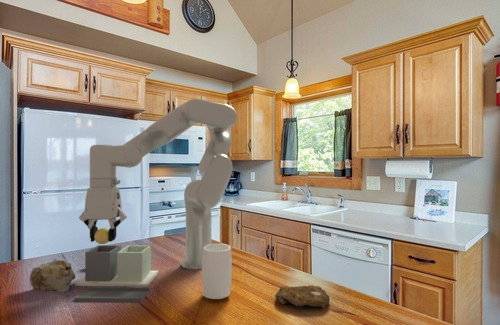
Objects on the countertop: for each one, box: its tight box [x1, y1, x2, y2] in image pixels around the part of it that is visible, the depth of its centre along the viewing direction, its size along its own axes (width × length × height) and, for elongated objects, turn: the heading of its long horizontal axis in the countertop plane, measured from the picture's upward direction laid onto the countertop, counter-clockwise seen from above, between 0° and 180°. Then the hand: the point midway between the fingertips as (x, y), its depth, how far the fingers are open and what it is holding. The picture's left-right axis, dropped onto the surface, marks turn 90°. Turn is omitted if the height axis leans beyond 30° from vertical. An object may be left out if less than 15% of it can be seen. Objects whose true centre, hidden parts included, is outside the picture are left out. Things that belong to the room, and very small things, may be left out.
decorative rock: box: [274, 284, 330, 310], centre depth 81 cm, size 11×4×15 cm
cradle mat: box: [70, 286, 152, 303], centre depth 84 cm, size 19×8×1 cm, turn 90°
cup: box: [201, 243, 233, 300], centre depth 84 cm, size 8×8×14 cm
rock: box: [29, 258, 77, 293], centre depth 89 cm, size 12×7×10 cm, turn 75°
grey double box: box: [74, 244, 159, 287], centre depth 95 cm, size 22×11×10 cm, turn 90°
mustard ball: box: [94, 227, 110, 245], centre depth 94 cm, size 5×5×5 cm
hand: (103, 239), depth 94 cm, fingers closed on mustard ball, 4 cm apart
